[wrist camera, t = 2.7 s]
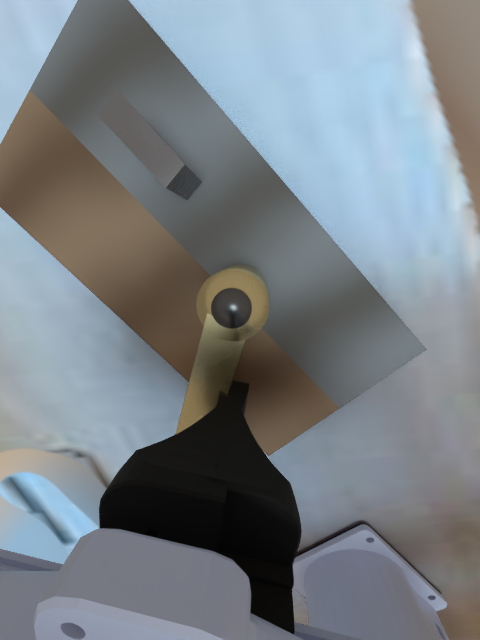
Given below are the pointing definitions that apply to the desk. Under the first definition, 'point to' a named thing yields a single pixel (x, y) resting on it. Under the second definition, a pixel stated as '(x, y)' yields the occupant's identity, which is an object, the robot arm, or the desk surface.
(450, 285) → the desk surface
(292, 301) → the board
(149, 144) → the block
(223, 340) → the lock bar
